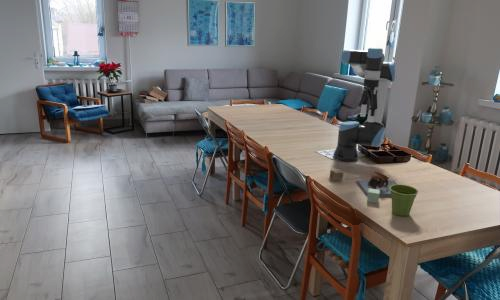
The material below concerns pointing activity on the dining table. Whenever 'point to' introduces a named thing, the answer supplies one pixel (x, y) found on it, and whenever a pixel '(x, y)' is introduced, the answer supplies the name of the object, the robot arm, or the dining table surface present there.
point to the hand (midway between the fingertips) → (366, 119)
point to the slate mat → (384, 190)
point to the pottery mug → (375, 182)
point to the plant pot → (402, 199)
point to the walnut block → (336, 175)
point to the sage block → (373, 195)
